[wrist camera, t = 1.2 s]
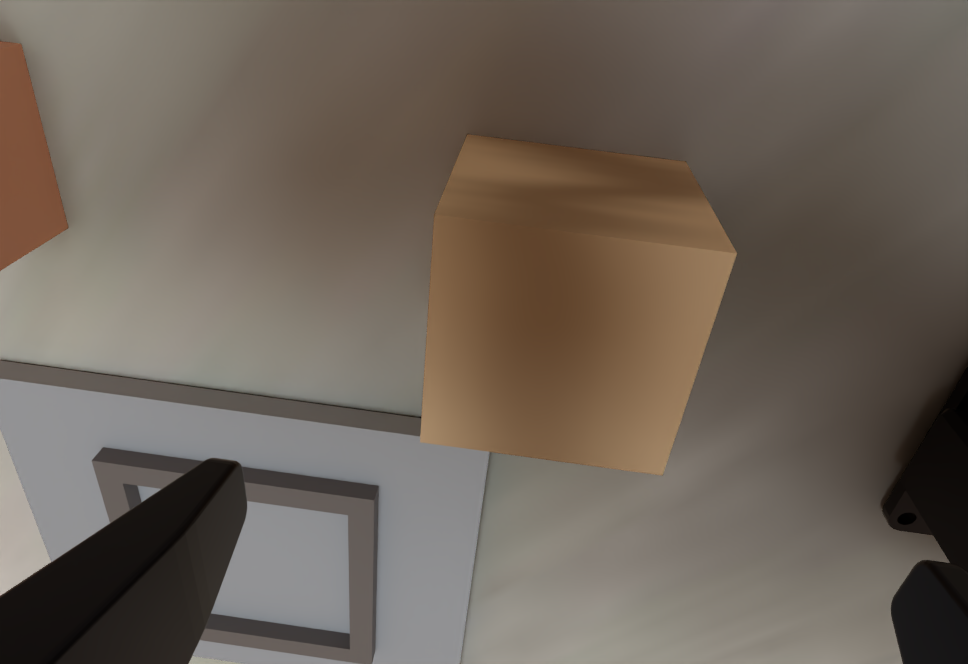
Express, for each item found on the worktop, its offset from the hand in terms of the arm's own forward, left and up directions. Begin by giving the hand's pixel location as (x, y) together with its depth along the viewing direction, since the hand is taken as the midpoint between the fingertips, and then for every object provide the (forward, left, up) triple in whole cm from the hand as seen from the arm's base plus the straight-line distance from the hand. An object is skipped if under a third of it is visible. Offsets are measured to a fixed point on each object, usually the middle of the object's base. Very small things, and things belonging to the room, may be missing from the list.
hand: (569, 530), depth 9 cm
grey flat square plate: (+9, +12, -9) cm, 18 cm away
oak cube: (0, 0, -9) cm, 9 cm away
